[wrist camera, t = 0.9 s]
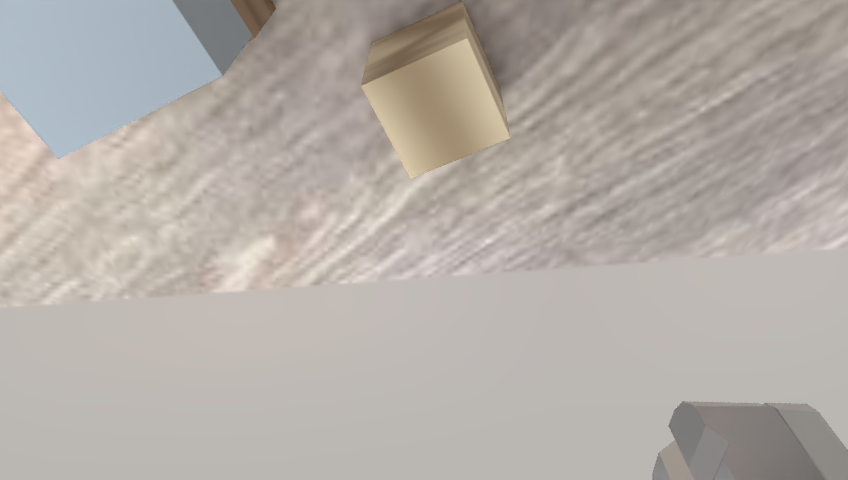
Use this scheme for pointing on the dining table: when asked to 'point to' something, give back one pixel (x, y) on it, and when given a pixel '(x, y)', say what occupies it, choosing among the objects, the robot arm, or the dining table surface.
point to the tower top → (109, 60)
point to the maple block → (435, 91)
